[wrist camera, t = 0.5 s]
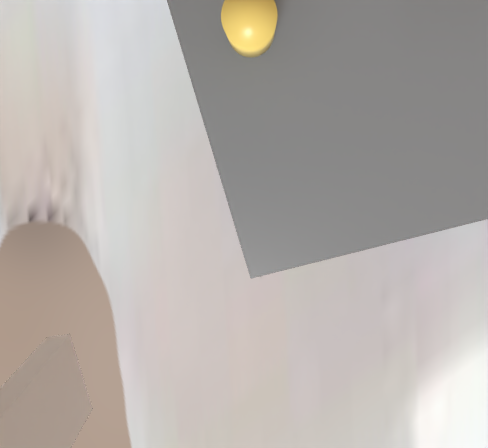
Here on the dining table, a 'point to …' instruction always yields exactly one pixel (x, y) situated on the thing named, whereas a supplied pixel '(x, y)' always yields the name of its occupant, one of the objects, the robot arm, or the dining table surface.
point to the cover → (341, 119)
